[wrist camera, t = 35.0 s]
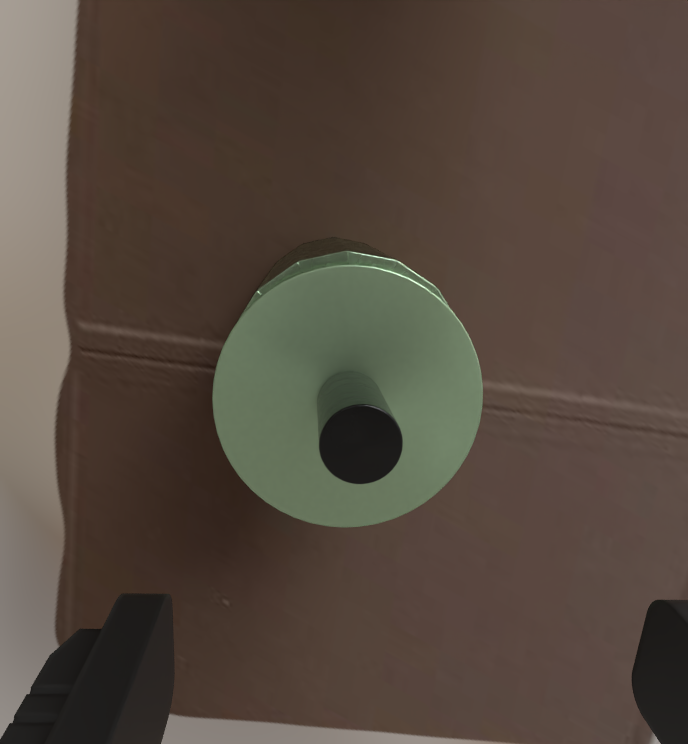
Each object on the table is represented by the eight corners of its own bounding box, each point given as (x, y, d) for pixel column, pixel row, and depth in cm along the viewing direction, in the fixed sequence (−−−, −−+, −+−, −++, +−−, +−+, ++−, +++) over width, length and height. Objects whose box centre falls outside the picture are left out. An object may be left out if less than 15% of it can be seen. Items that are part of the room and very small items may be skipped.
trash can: (240, 256, 36) (197, 282, 23) (395, 223, 36) (448, 228, 23) (277, 403, 39) (260, 505, 26) (420, 372, 39) (481, 457, 26)
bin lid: (185, 297, 23) (136, 313, 17) (451, 237, 23) (504, 229, 17) (254, 540, 26) (235, 635, 19) (493, 484, 26) (555, 559, 19)
